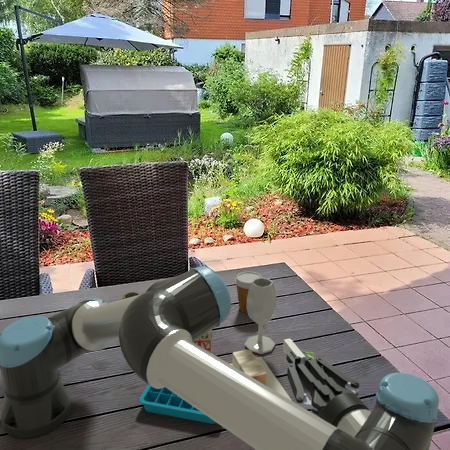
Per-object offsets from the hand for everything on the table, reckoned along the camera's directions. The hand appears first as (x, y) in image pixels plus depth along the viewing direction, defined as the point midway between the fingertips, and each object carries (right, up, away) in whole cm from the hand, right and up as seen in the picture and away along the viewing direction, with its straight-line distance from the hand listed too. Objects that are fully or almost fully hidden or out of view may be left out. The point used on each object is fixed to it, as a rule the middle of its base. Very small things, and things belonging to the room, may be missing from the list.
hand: (286, 344), depth 93 cm
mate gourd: (-43, -6, +54) cm, 69 cm away
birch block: (-5, -15, +19) cm, 25 cm away
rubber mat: (-6, -17, +23) cm, 29 cm away
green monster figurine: (+9, -15, +28) cm, 33 cm away
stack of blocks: (-20, -11, +39) cm, 45 cm away
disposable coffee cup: (-5, -4, +60) cm, 60 cm away
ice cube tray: (-22, -19, +17) cm, 34 cm away
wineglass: (-3, -11, +39) cm, 41 cm away
